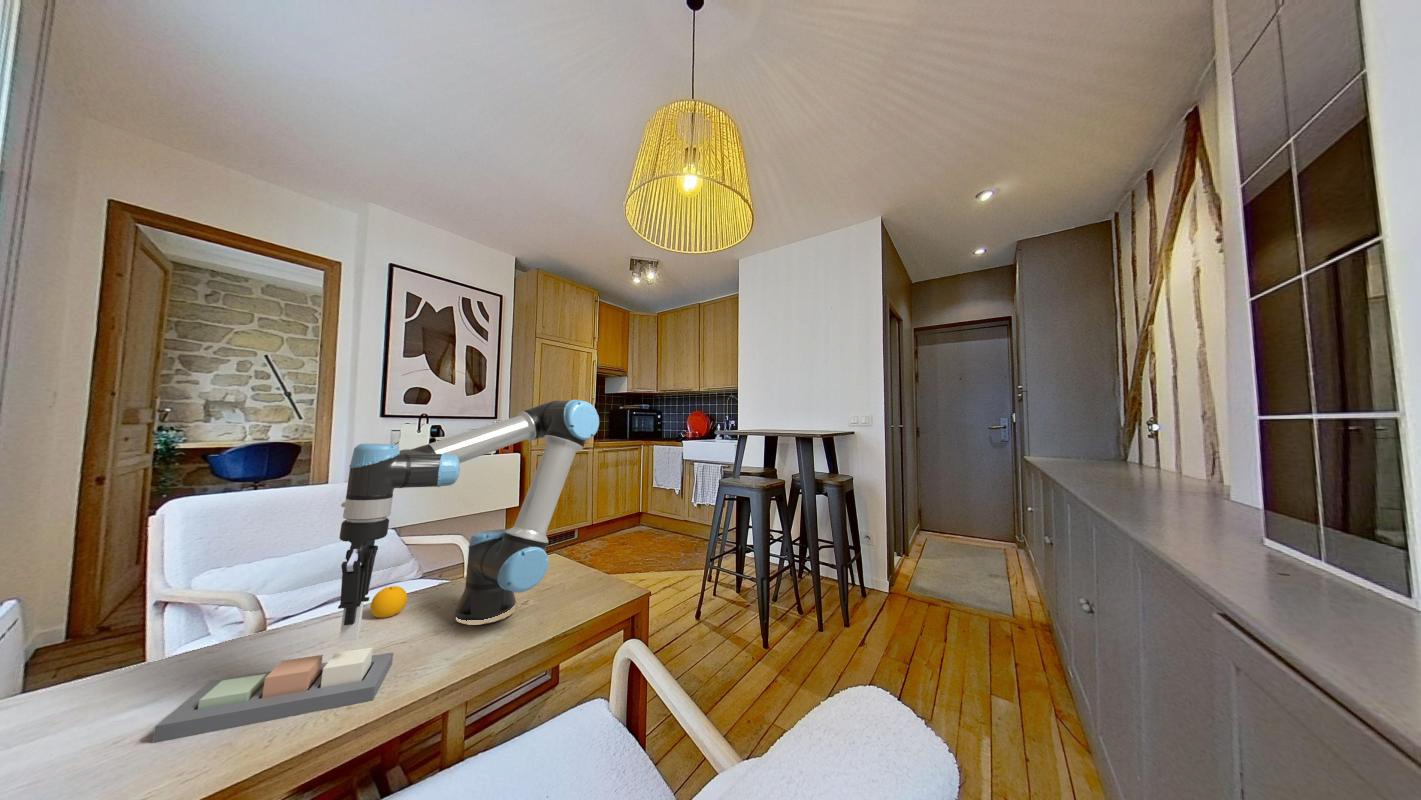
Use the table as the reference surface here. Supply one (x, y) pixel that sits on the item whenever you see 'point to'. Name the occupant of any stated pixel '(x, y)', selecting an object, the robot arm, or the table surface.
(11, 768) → the table surface
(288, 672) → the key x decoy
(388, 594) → the yellow lemon
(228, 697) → the key
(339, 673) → the cream square block
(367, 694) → the keypad board
